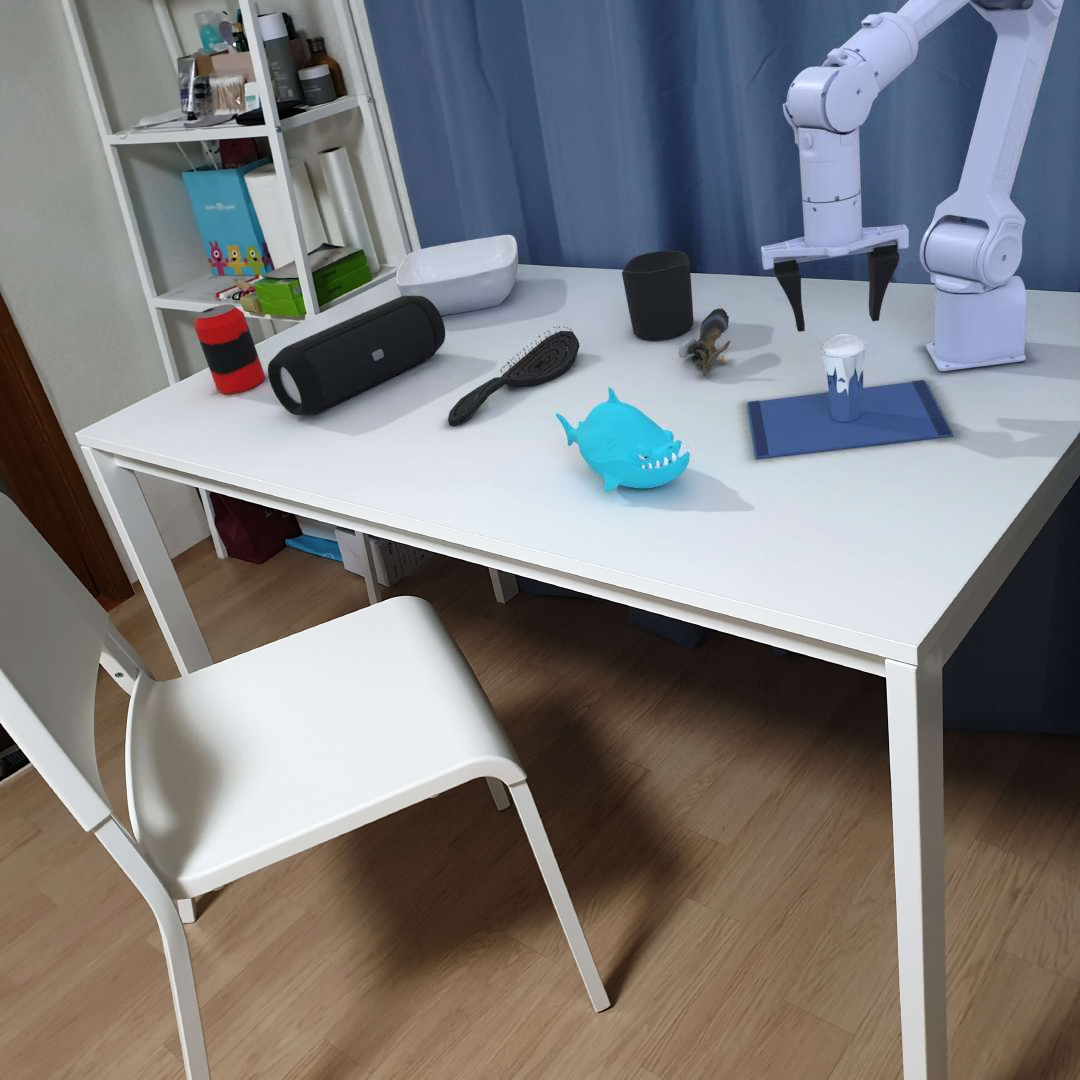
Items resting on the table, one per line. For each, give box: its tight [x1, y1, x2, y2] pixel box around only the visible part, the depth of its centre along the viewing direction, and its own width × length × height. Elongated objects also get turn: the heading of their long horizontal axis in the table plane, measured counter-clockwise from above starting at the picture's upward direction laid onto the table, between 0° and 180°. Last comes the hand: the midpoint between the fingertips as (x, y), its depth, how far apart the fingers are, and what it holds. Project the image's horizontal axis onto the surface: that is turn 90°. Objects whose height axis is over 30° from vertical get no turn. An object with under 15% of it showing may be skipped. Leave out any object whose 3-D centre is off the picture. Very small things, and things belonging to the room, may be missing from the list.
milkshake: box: [814, 333, 867, 422], centre depth 112 cm, size 4×5×10 cm
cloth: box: [746, 379, 954, 460], centre depth 115 cm, size 20×14×1 cm
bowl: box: [395, 234, 519, 317], centre depth 177 cm, size 20×20×8 cm
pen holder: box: [621, 250, 694, 342], centre depth 147 cm, size 9×9×10 cm
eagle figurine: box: [677, 308, 731, 377], centre depth 134 cm, size 8×7×9 cm
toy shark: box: [555, 386, 691, 492], centre depth 110 cm, size 10×18×11 cm, turn 45°
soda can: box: [193, 303, 266, 395], centre depth 160 cm, size 8×8×12 cm
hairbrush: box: [447, 325, 581, 427], centre depth 140 cm, size 8×4×25 cm
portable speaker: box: [267, 295, 446, 416], centre depth 150 cm, size 26×10×10 cm, turn 134°
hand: (837, 323), depth 112 cm, fingers open, 7 cm apart
